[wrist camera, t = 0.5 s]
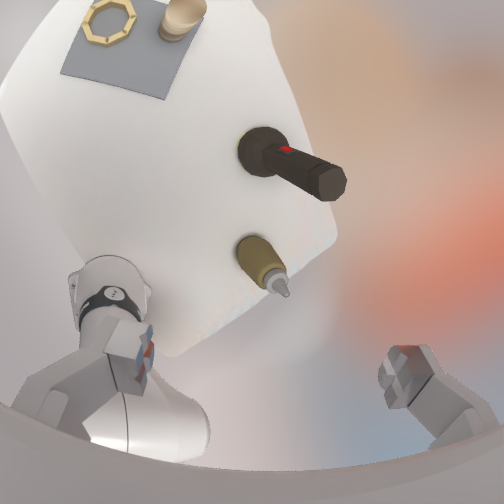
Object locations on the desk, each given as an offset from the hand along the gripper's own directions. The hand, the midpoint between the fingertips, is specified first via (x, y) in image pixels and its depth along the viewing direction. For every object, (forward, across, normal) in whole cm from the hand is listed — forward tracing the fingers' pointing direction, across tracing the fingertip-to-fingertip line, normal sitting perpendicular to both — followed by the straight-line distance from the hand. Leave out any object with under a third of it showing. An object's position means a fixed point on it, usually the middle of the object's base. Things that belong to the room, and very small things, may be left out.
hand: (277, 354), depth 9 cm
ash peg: (+44, -17, +21) cm, 52 cm away
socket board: (+42, -24, +19) cm, 52 cm away
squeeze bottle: (+54, +2, -22) cm, 58 cm away
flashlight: (+53, +1, 0) cm, 53 cm away
